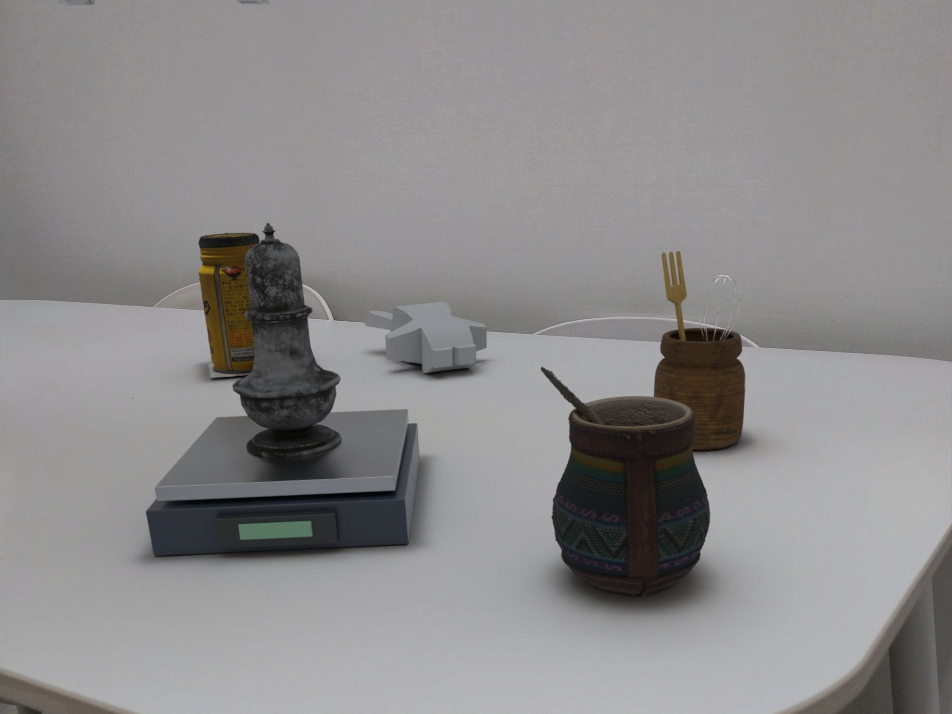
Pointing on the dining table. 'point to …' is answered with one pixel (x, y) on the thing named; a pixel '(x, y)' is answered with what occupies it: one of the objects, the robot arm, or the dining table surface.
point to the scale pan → (290, 460)
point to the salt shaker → (283, 359)
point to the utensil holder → (702, 369)
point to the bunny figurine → (430, 336)
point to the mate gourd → (630, 493)
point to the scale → (289, 518)
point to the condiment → (227, 302)
